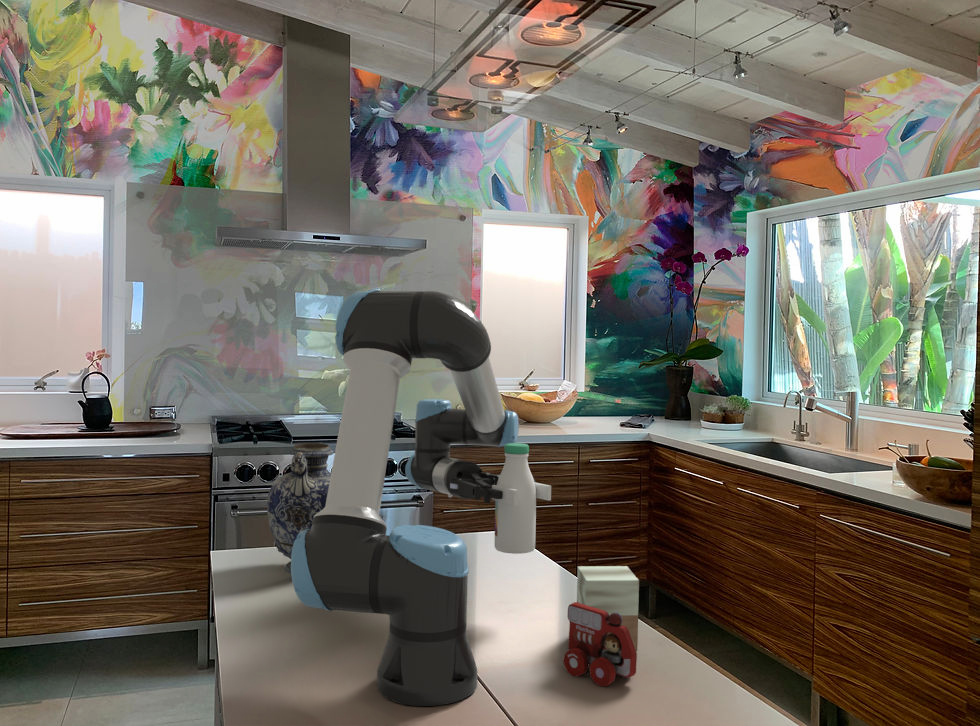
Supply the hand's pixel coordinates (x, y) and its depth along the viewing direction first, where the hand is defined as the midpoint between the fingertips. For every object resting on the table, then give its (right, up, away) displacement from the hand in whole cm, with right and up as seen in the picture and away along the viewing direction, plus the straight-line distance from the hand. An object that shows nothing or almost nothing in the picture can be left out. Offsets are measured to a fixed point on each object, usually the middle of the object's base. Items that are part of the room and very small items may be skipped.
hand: (533, 495), depth 150 cm
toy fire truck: (+9, -25, -22) cm, 35 cm away
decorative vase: (-49, -22, +33) cm, 63 cm away
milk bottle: (-3, -11, +4) cm, 12 cm away
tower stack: (+12, -24, -8) cm, 28 cm away
